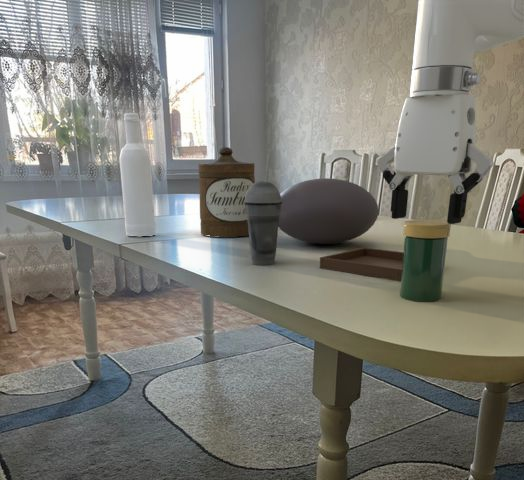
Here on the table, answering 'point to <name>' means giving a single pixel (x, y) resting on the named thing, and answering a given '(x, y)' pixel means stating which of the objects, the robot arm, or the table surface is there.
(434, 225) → the lid
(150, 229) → the bottle
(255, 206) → the beverage cup
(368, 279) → the table surface
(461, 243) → the table surface
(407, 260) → the jar
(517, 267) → the table surface
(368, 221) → the smooth stone
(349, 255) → the tray
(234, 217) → the wooden container
